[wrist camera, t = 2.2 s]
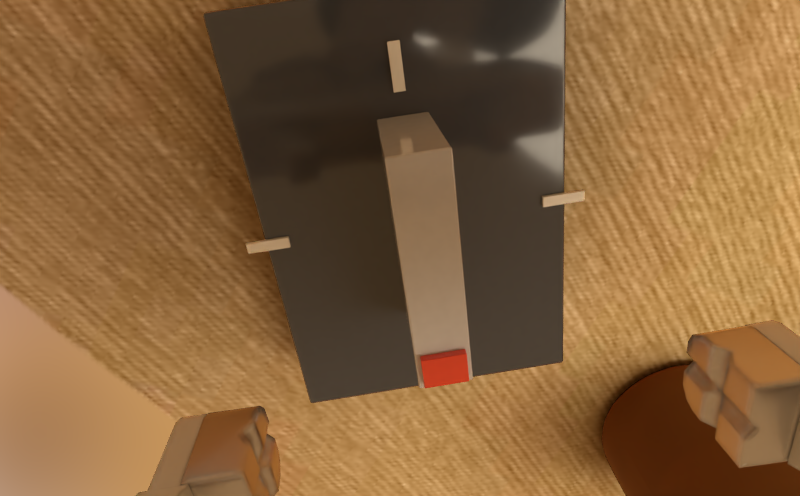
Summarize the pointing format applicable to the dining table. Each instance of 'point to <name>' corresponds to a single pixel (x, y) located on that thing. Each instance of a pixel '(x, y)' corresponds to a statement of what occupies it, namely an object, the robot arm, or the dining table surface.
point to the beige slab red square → (427, 245)
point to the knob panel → (365, 179)
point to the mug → (679, 448)
